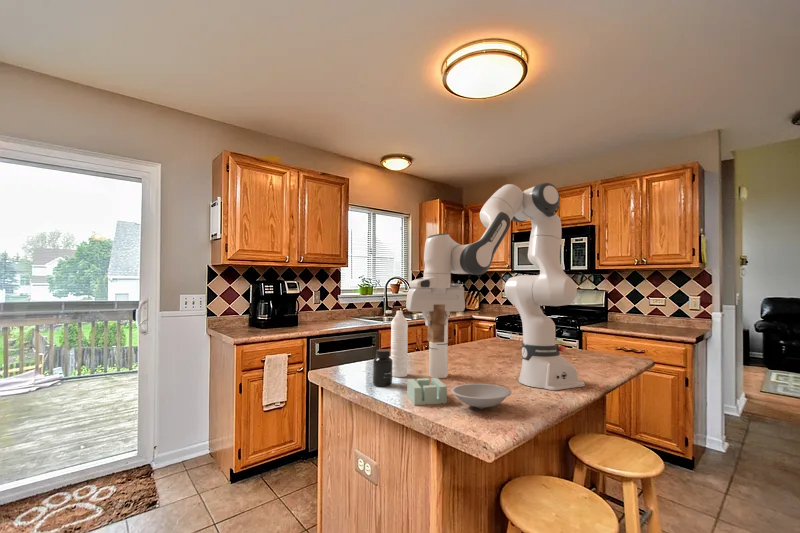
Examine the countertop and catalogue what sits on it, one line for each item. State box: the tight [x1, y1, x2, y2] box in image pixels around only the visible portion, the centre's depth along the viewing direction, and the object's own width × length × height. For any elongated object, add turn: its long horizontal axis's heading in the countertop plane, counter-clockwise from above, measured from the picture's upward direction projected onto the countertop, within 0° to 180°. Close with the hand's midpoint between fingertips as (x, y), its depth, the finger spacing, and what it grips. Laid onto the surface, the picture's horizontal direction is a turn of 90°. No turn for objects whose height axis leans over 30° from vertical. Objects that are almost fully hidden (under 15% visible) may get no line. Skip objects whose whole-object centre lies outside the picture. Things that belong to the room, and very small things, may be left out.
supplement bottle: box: [372, 348, 393, 388], centre depth 132 cm, size 7×7×12 cm
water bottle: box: [385, 309, 409, 378], centre depth 145 cm, size 9×6×25 cm
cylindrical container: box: [428, 318, 449, 379], centre depth 145 cm, size 7×7×25 cm
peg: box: [426, 305, 445, 343], centre depth 122 cm, size 4×4×12 cm
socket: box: [406, 377, 448, 406], centre depth 117 cm, size 10×10×5 cm
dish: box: [450, 383, 512, 409], centre depth 109 cm, size 18×14×5 cm
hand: (435, 325), depth 121 cm, fingers closed on peg, 4 cm apart
